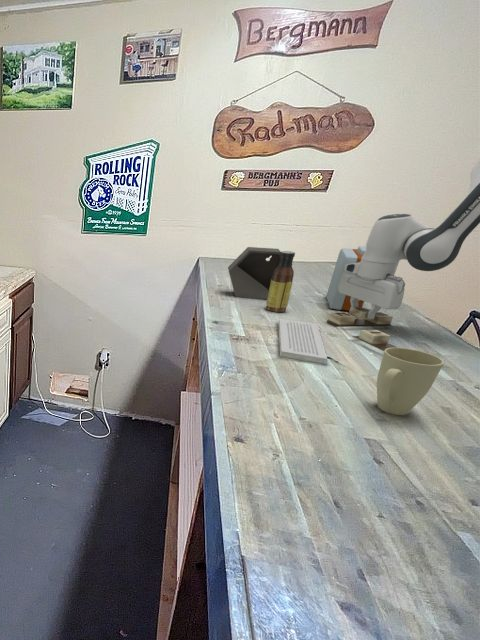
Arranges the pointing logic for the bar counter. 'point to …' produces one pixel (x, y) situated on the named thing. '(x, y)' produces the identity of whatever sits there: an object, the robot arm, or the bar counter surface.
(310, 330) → the plaque
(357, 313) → the s tile
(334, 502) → the bar counter surface
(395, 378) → the mug
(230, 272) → the planter
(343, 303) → the orange grey tall block
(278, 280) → the sauce bottle
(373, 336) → the front rack
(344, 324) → the back rack
